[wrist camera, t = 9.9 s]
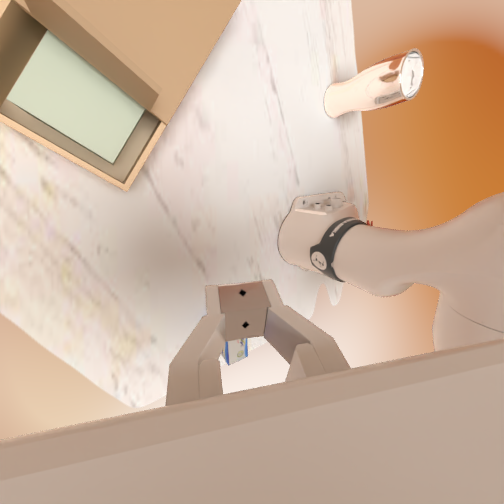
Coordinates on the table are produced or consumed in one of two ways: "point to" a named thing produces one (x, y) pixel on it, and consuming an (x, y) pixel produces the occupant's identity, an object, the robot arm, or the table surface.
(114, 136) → the mailer box
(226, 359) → the medicine box
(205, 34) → the mailer lid
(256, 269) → the table surface
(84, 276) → the table surface
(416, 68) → the beer glass
